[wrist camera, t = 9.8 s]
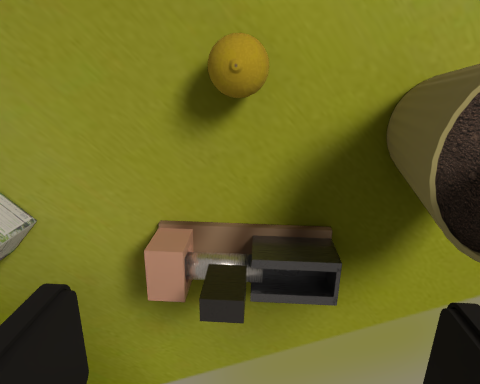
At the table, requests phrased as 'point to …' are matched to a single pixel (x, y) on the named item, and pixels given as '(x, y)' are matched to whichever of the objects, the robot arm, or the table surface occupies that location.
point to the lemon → (238, 65)
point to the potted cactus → (443, 152)
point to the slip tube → (222, 283)
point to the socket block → (168, 264)
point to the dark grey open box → (296, 270)
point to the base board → (240, 234)
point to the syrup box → (12, 225)
